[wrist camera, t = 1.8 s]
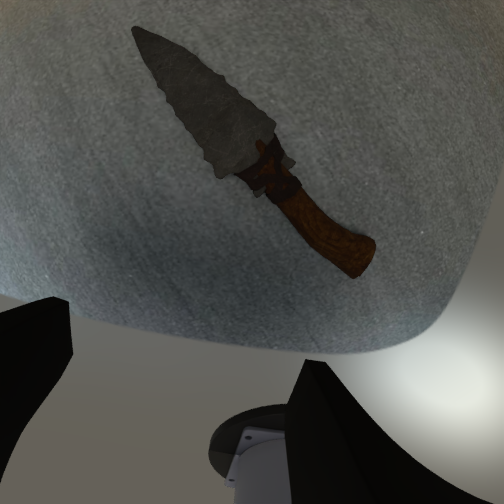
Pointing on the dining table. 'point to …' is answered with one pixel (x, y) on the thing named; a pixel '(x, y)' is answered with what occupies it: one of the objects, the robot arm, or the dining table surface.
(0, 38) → the dining table surface
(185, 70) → the knife
